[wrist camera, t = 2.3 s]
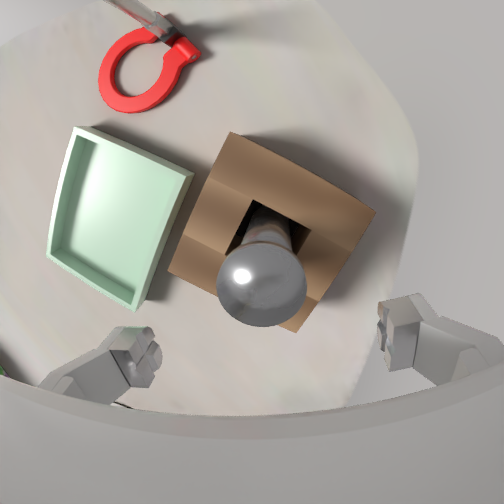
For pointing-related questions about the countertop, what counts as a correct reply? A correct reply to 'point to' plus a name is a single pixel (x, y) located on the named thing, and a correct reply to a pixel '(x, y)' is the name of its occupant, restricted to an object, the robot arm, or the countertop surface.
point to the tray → (114, 214)
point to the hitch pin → (263, 273)
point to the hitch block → (281, 200)
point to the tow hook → (150, 32)
